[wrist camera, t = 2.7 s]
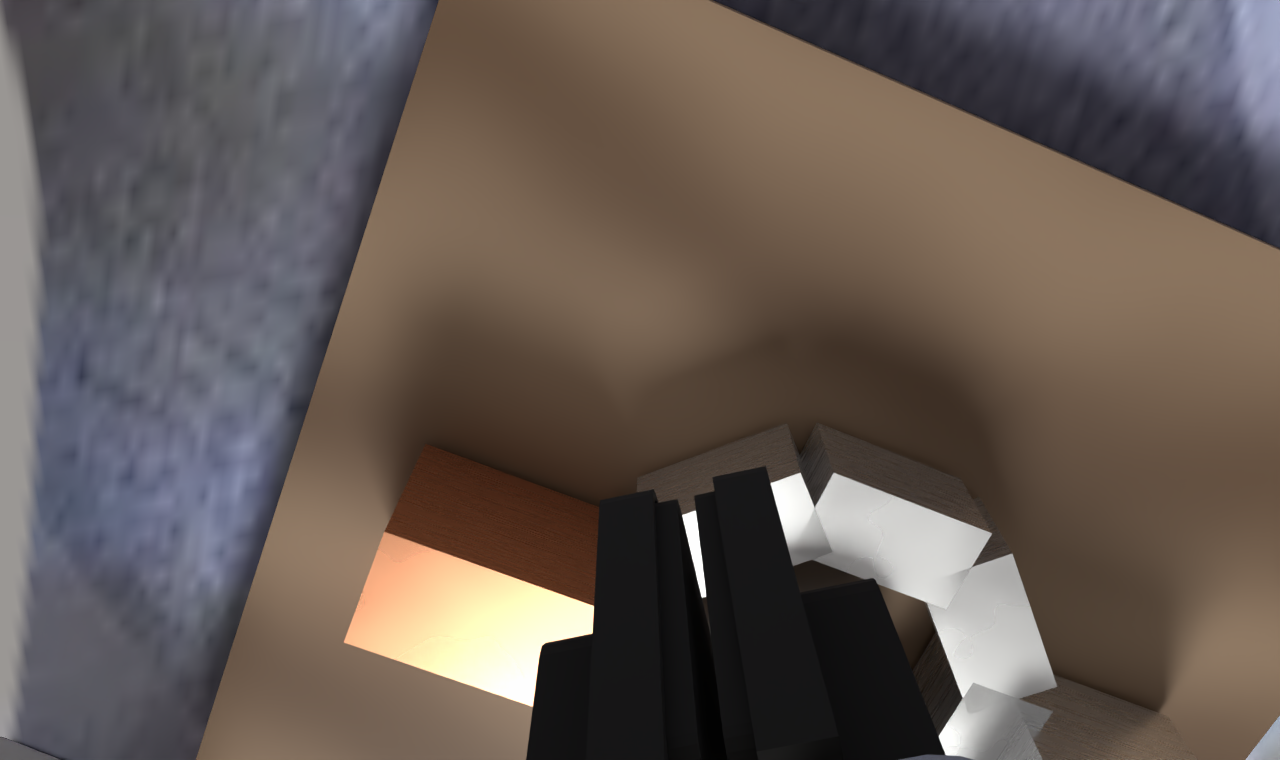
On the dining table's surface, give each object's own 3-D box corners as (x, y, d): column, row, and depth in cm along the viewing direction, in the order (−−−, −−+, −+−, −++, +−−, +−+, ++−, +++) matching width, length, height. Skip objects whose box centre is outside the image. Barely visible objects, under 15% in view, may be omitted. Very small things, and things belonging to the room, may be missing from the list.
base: (486, -100, 18) (417, -120, 13) (1488, 339, 20) (1767, 470, 15) (199, 784, 25) (80, 1001, 20) (973, 1029, 27) (1045, 1277, 22)
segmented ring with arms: (1257, 593, 21) (1359, 703, 18) (1034, 899, 23) (1089, 1037, 20) (481, 291, 19) (448, 357, 16) (343, 667, 21) (292, 782, 18)
